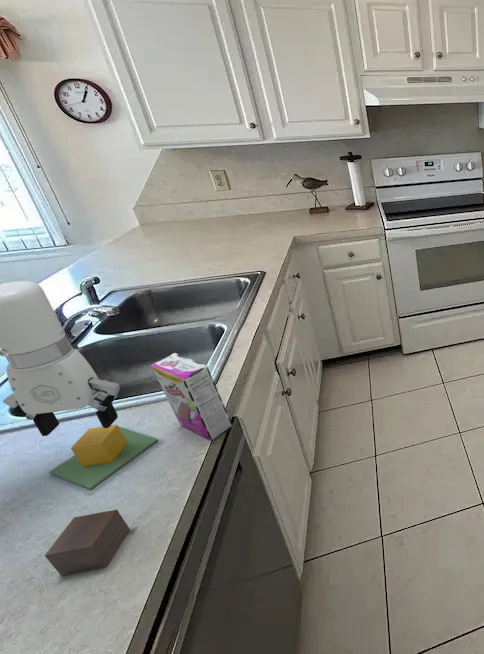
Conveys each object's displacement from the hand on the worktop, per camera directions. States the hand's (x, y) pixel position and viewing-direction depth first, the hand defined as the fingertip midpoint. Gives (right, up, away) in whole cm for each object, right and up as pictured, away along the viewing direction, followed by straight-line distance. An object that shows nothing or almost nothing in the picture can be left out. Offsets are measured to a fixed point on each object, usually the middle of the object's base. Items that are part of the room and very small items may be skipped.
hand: (81, 426), depth 78 cm
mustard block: (+1, -7, +4) cm, 8 cm away
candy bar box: (+16, -4, +11) cm, 20 cm away
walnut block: (+16, -15, -13) cm, 25 cm away
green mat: (+1, -7, +4) cm, 8 cm away
